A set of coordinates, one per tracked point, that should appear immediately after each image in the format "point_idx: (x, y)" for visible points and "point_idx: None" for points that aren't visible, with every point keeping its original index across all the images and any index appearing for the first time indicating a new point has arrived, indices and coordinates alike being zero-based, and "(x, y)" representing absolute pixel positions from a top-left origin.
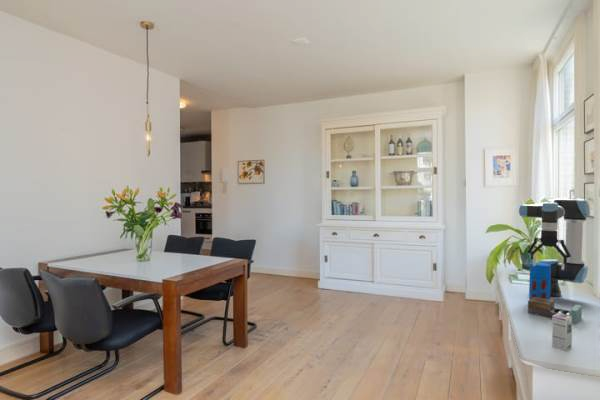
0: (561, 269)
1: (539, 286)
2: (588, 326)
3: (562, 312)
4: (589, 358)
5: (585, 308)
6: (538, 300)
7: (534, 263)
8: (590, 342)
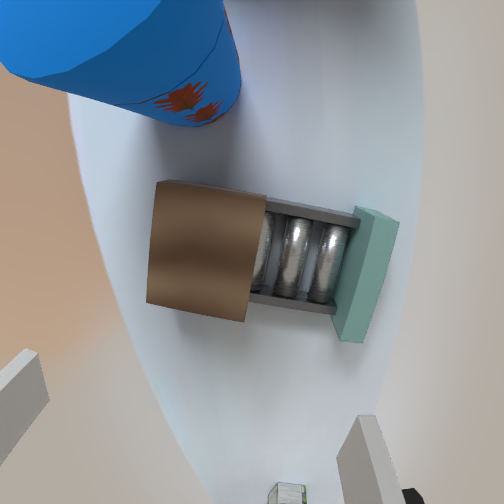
0: (337, 459)
1: (160, 112)
2: (385, 313)
3: (305, 250)
4: (330, 500)
5: (389, 27)
6: (187, 262)
7: (34, 418)
8: None
